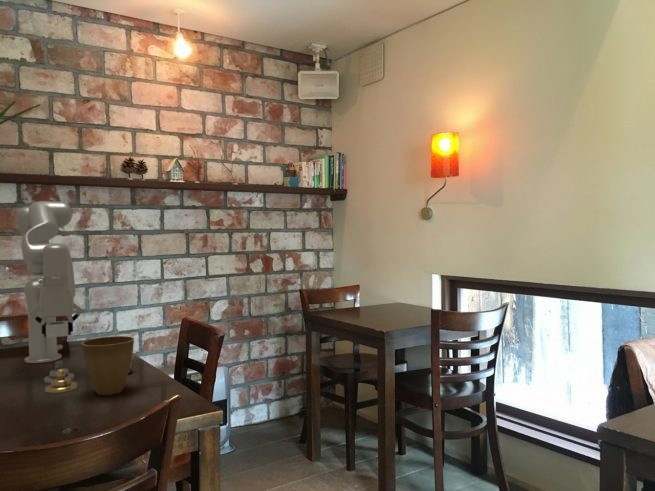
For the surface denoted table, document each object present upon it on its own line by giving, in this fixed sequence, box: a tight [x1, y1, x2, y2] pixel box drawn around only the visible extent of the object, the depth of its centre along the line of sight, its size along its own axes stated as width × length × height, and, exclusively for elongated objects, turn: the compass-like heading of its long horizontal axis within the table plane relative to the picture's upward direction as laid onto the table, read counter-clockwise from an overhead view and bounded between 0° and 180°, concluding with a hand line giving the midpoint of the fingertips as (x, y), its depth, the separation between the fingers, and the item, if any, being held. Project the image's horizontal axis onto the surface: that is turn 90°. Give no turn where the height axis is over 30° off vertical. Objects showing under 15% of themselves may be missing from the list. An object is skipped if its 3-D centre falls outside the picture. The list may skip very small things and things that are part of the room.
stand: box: [43, 359, 75, 384], centre depth 177 cm, size 9×9×6 cm
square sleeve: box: [46, 320, 69, 338], centre depth 177 cm, size 6×6×4 cm
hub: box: [44, 368, 78, 394], centre depth 166 cm, size 9×9×6 cm
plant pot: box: [81, 335, 135, 396], centre depth 162 cm, size 15×15×16 cm
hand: (57, 334), depth 177 cm, fingers closed on square sleeve, 6 cm apart
